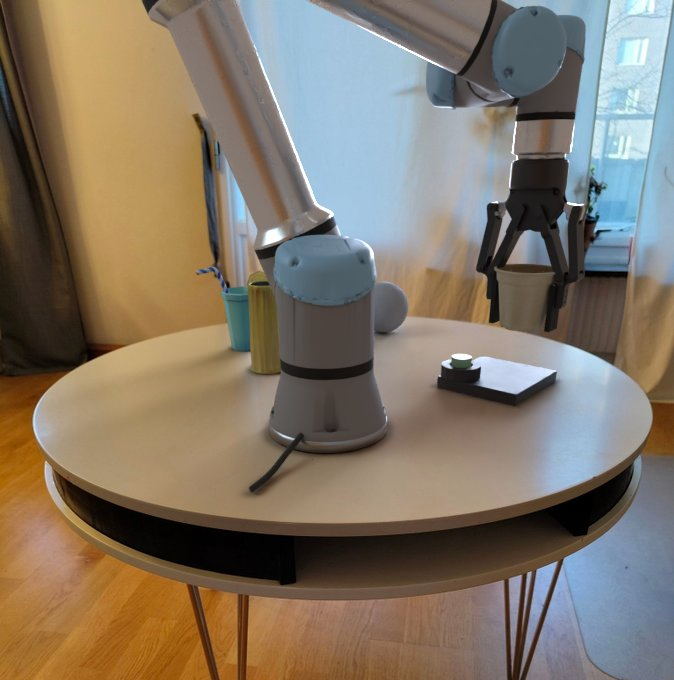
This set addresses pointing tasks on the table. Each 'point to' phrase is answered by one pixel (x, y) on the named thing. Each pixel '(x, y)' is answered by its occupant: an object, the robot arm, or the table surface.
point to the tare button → (461, 361)
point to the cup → (236, 308)
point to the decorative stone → (389, 307)
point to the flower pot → (524, 295)
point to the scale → (496, 379)
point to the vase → (263, 328)
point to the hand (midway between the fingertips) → (521, 325)
